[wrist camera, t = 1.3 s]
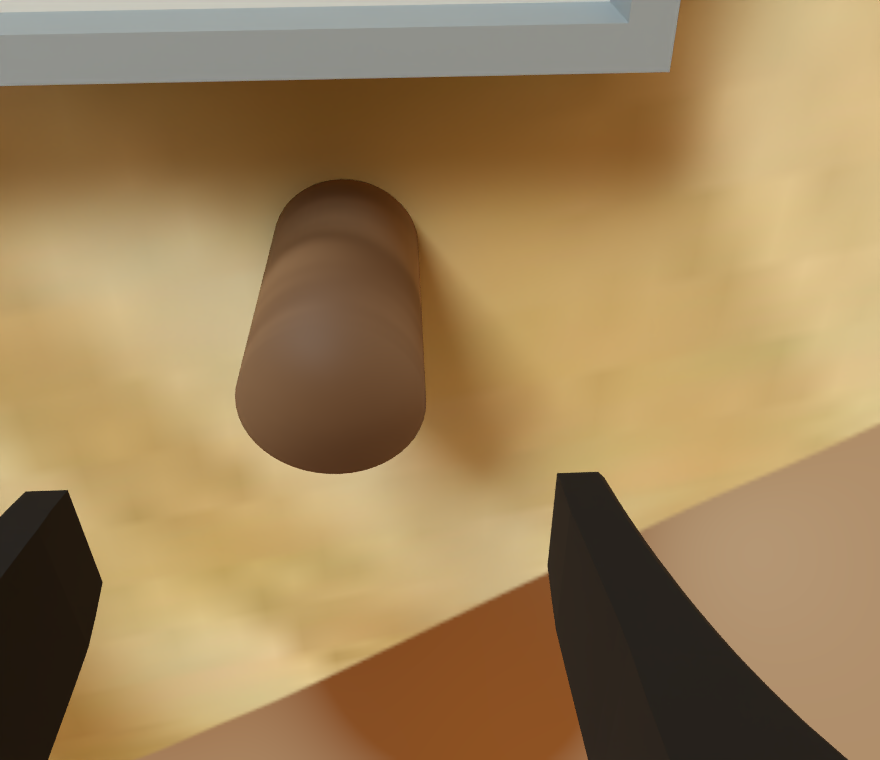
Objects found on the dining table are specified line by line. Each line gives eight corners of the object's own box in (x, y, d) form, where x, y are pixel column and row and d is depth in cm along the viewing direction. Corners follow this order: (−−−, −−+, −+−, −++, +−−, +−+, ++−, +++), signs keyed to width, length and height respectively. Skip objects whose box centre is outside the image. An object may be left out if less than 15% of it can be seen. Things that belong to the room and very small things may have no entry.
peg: (283, 310, 21) (249, 476, 16) (265, 181, 19) (220, 327, 14) (419, 306, 21) (427, 470, 16) (416, 177, 19) (423, 321, 14)
